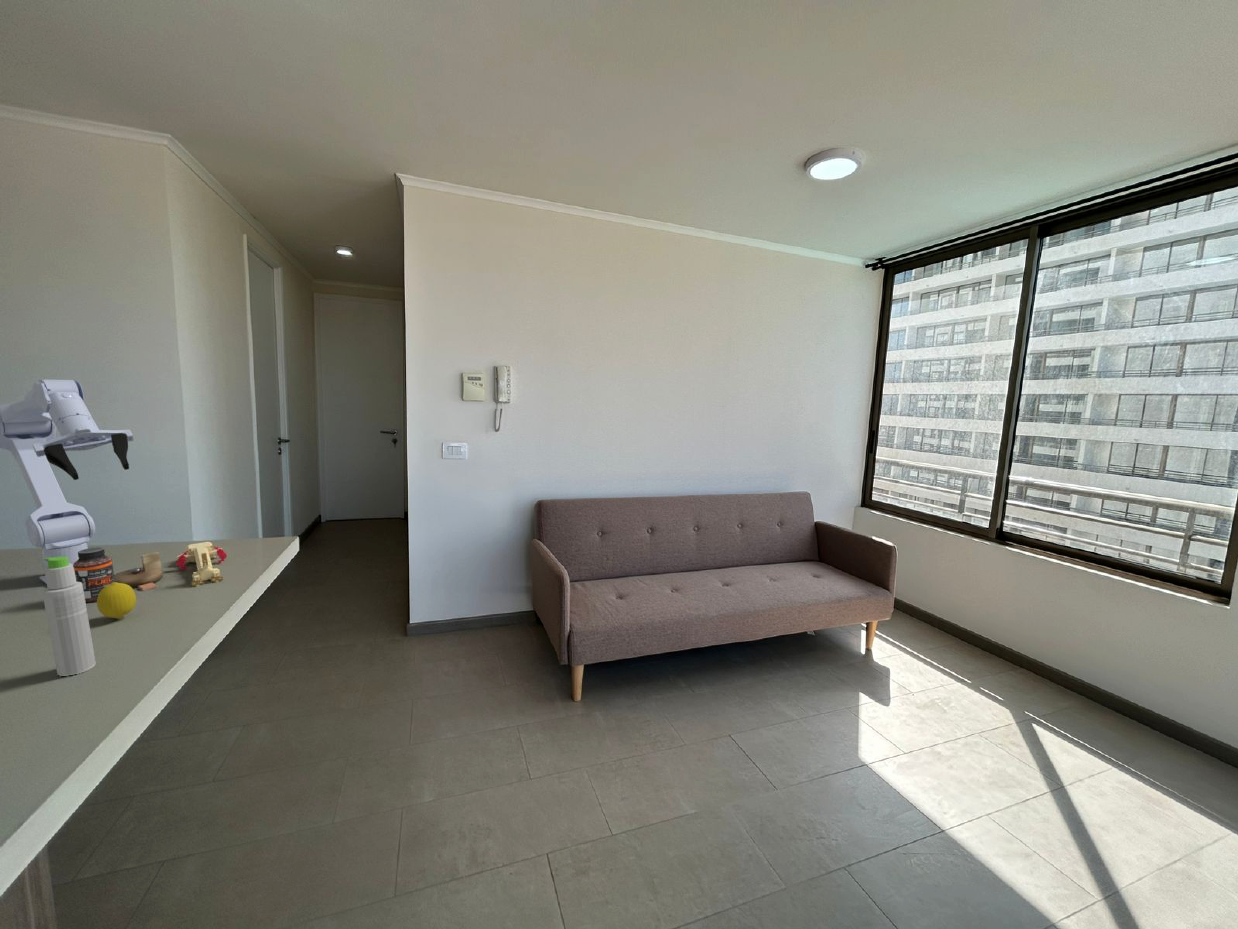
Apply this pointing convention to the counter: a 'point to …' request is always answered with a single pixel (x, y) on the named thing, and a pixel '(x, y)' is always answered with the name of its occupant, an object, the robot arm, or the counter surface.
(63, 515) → the robot arm
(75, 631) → the bottle
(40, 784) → the counter surface
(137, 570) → the pivot pin
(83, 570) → the supplement bottle
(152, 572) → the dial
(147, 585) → the salmon square tile
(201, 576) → the toy vehicle
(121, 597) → the lemon
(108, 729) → the counter surface
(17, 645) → the counter surface
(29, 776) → the counter surface
